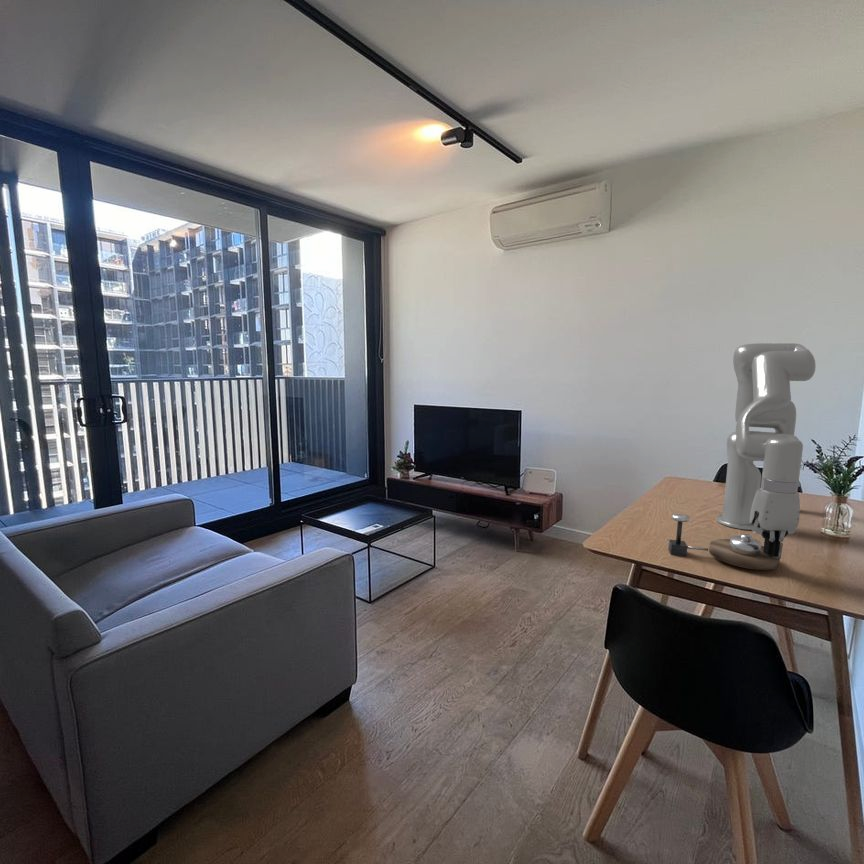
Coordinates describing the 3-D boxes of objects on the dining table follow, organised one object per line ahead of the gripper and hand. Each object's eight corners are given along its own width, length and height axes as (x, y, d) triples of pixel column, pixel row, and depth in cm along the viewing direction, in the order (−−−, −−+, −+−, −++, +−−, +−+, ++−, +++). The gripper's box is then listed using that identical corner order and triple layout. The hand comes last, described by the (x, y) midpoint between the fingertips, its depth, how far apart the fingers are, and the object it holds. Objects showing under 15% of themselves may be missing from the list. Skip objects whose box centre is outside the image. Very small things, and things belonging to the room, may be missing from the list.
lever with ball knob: (670, 554, 131) (673, 517, 129) (667, 548, 135) (670, 512, 133) (709, 559, 128) (713, 521, 126) (705, 553, 132) (709, 516, 130)
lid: (729, 544, 131) (731, 528, 130) (760, 549, 127) (761, 534, 126) (728, 552, 125) (730, 536, 125) (760, 558, 121) (762, 542, 121)
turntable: (713, 541, 138) (715, 522, 137) (780, 555, 128) (783, 534, 127) (705, 558, 126) (707, 538, 125) (779, 575, 116) (782, 553, 115)
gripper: (795, 482, 122) (786, 548, 124) (740, 482, 121) (732, 549, 124) (820, 490, 114) (810, 560, 117) (761, 490, 114) (753, 560, 116)
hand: (770, 554), depth 120 cm, fingers closed
